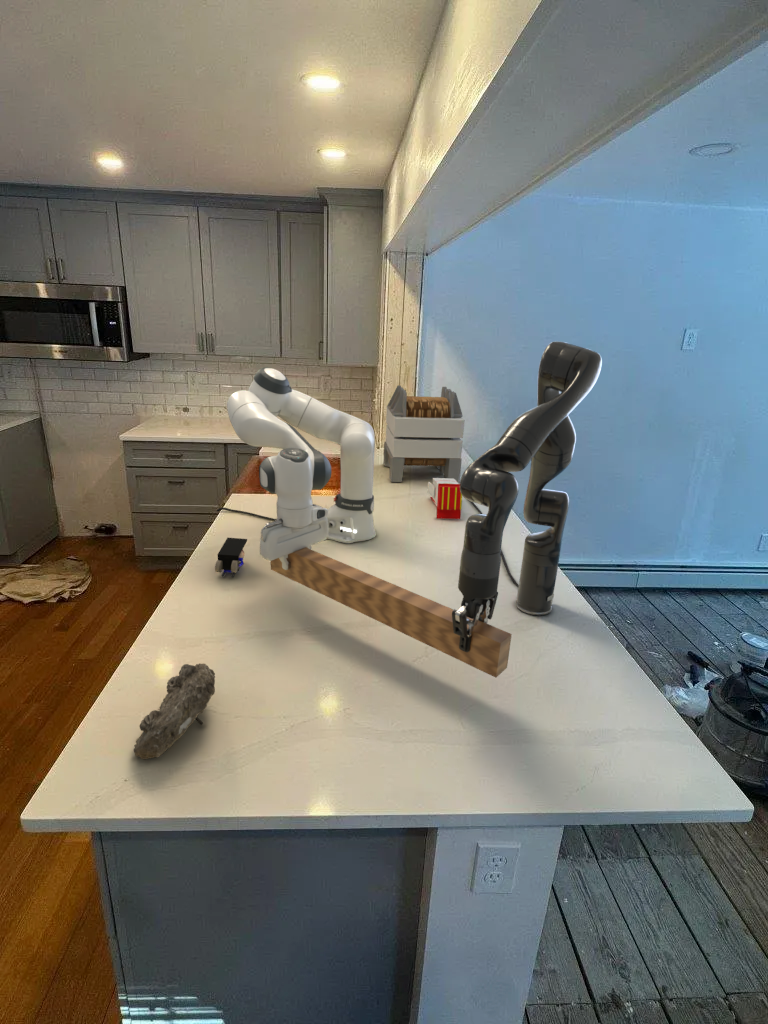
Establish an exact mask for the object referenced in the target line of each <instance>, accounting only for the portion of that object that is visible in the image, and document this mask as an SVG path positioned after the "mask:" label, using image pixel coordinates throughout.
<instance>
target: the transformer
mask: <svg viewBox="0 0 768 1024" xmlns="http://www.w3.org/2000/svg"><path fill="white" fill-rule="evenodd" d="M440 393H441V394H440V396H415V395H414V396H413V395H412V396H411V395H407V394H408V393H407V390H406V389H404V388H403V387H402V385H399V384H398V385H397V386H396V388H395V390H394V392H393V394H392V395H391V398H390V400H389V402H388V404H387V405H386V413H385V414H386V415H385V423H386V428H385V438H384V442H383V466H384V467H388V468H389V475H388V476H389V477H388V478H389V480H390V482H391V483H402V482H403V475H404V469H405V466H406V467H407V466H411V467H412V466H413V467H415V466H416V467H417V466H418V467H436V468H437V470H438V469H439V473H440V474H441V475H443V478H454V479H455V480H456V481H457V482H458V483H459V484H460V481H461V472H462V461H463V460H462V453H463V442H464V441H463V440H462V439H463V438H464V431H465V430H464V429H465V419H464V418H463V411H462V408H461V405H460V402H459V398H458V395H457V392H455V391H453V390H452V389H451V388H447V386H442V387H441V392H440Z"/></svg>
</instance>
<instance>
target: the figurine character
mask: <svg viewBox="0 0 768 1024" xmlns="http://www.w3.org/2000/svg"><path fill="white" fill-rule="evenodd" d="M247 542H248V538H240V537H226V539H225V541H224V543H223V544H222V546H221V547H220V549H219V551H218V552H217V560H216V562H215V564H214V572H215V573H221V577H222V578H224V577H225V576H226V574H227V573H230V574H231V573H232V574H231V578H234V577H235V575H236V573H237V572H239V571H240V567H242V566H243V565H244V564H245V562H244V558H245V551H244V547H245V546H246V544H247Z"/></svg>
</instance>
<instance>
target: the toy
mask: <svg viewBox="0 0 768 1024" xmlns="http://www.w3.org/2000/svg"><path fill="white" fill-rule="evenodd" d="M427 493H428V494H429V498H430V500H431V501H432V502H433V504H435V506H436V519H437V520H461V518H462V516H461V515H462V507H463V496H462V494H461V492H460V482H459V483H458V482H457V481H456V480H455V479H454V478H444V477H432V482H431V481H428V482H427Z"/></svg>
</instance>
